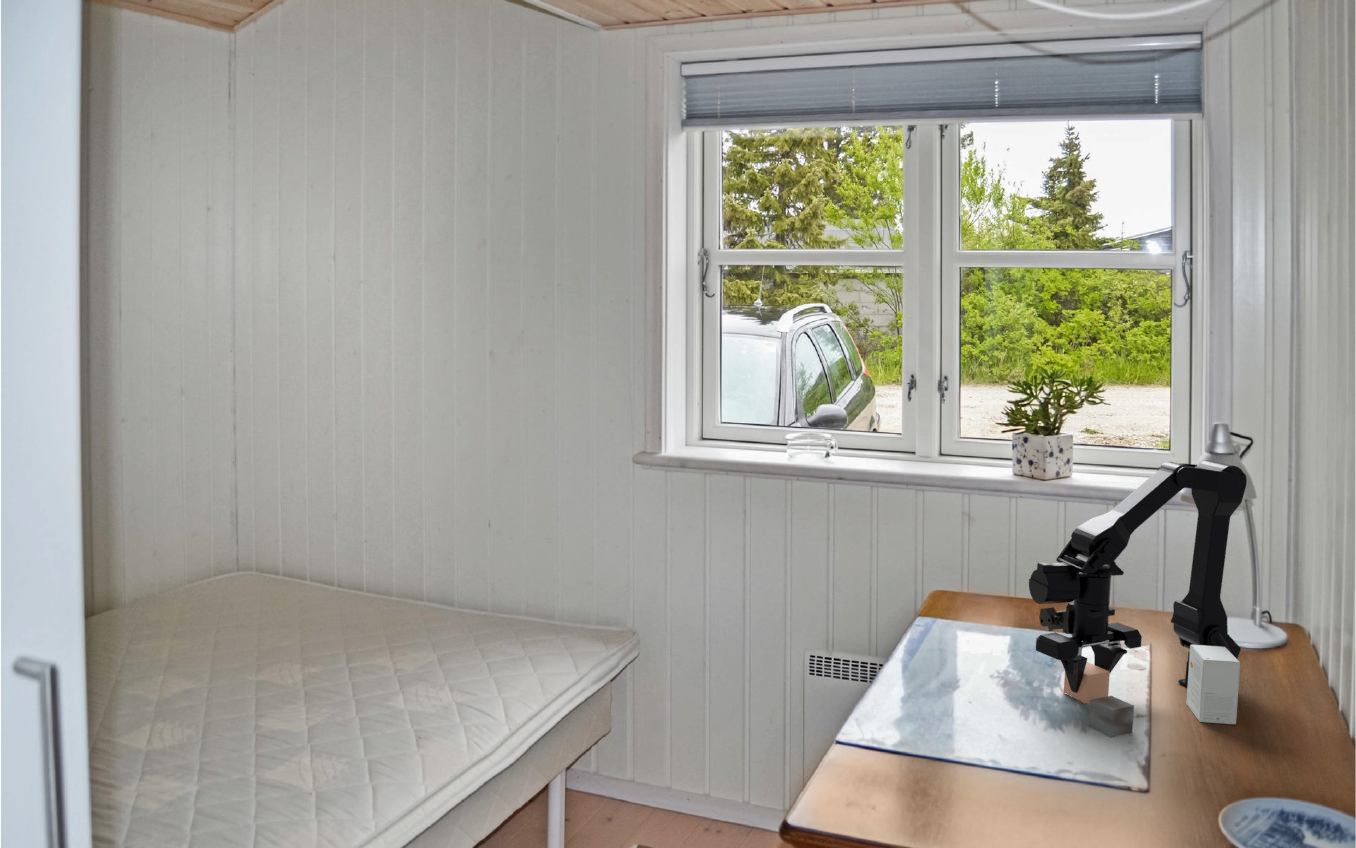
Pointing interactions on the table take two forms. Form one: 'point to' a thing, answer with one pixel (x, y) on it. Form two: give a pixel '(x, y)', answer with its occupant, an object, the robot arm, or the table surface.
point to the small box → (1213, 684)
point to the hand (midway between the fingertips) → (1086, 689)
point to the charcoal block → (1111, 716)
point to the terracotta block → (1090, 684)
